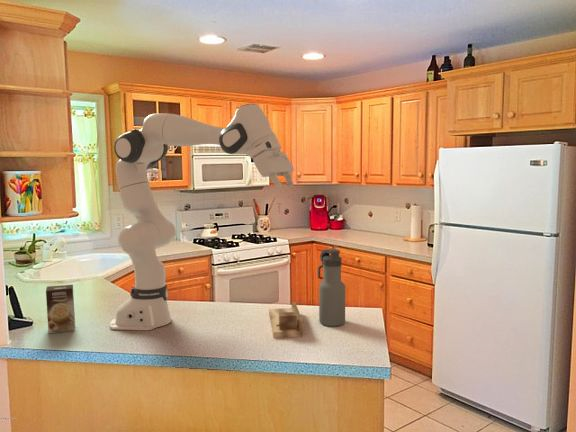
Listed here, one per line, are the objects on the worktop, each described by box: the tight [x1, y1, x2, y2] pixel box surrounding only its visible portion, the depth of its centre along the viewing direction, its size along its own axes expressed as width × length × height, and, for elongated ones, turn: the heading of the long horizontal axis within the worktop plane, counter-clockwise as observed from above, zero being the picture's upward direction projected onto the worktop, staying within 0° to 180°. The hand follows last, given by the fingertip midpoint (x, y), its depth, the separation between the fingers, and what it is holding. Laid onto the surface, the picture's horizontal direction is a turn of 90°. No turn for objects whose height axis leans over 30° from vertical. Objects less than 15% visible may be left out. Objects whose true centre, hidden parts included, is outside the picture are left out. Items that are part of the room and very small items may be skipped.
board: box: [268, 301, 304, 339], centre depth 186 cm, size 11×26×4 cm, turn 5°
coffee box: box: [45, 284, 76, 334], centre depth 183 cm, size 9×6×16 cm
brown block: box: [276, 312, 297, 330], centre depth 177 cm, size 7×4×5 cm, turn 95°
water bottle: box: [317, 248, 346, 327], centre depth 186 cm, size 10×10×28 cm
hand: (285, 186), depth 162 cm, fingers open, 8 cm apart
